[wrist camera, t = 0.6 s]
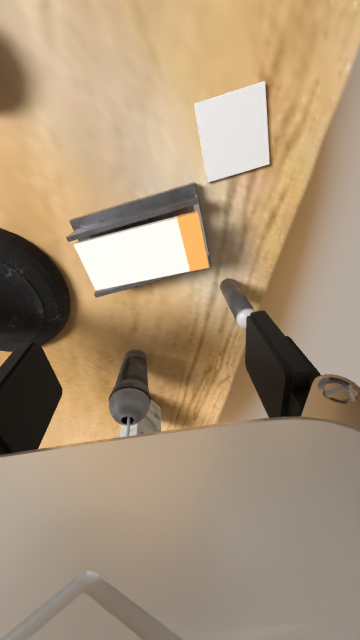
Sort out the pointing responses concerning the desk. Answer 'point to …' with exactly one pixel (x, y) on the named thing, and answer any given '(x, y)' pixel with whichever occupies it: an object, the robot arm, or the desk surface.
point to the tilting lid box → (137, 220)
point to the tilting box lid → (145, 252)
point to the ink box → (146, 422)
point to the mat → (233, 131)
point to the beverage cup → (131, 391)
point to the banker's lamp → (29, 294)
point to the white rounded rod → (236, 301)
